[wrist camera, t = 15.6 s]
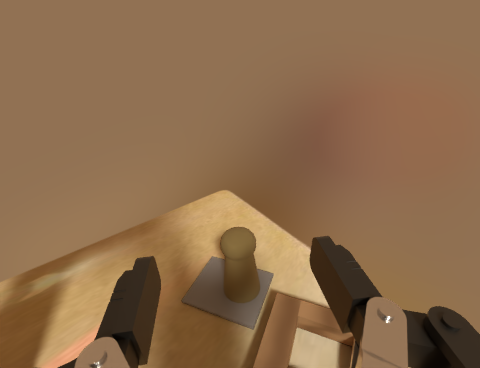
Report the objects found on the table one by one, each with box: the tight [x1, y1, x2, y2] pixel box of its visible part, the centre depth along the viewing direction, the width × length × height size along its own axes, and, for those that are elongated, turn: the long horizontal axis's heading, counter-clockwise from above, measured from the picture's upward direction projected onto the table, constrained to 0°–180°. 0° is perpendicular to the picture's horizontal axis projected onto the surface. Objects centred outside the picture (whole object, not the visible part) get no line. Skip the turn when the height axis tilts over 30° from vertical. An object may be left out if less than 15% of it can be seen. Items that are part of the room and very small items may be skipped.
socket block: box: [253, 293, 355, 368], centre depth 29 cm, size 14×12×2 cm
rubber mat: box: [181, 256, 273, 329], centre depth 40 cm, size 12×10×1 cm
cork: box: [220, 227, 260, 303], centre depth 37 cm, size 6×6×11 cm
